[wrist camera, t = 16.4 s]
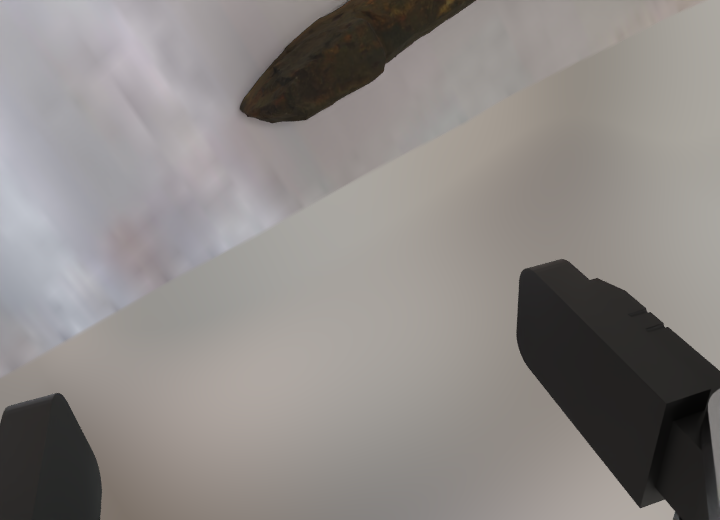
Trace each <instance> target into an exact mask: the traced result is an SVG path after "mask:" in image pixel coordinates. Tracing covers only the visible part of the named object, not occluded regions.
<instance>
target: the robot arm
mask: <svg viewBox="0 0 720 520" xmlns="http://www.w3.org/2000/svg"><path fill="white" fill-rule="evenodd" d="M518 297H519V298H518V317H517V342H518V347H519V350H520V353H521V355H522V357H523V360H524V362H525V363H526V365H527V366H528V368H529V369H530V370H531V371H532V373H533V374H534V375H535V376H536V378H537V379H538V380H539V381H540V383H541V384H542V385H543V386H544V388H545V389H546V390H547V392H548V393H549V394H550V395H551V397H552V398H553V399H554V400H555V402H556V403H557V404H558V405H559V407H560V408H561V409H562V411H563V412H564V413H565V414H566V416H567V417H568V418H569V419H570V421H571V422H572V423H573V424H574V426H575V427H576V428H577V429H578V431H579V432H580V433H581V434H582V436H583V437H584V438H585V439H586V441H587V442H588V443H589V445H590V446H591V447H592V448H593V450H594V451H595V452H596V453H597V455H598V456H599V457H600V458H601V460H602V461H603V462H604V463H605V465H606V466H607V467H608V468H609V470H610V471H611V472H612V473H613V475H614V476H615V477H616V478H617V480H618V481H619V482H620V484H621V485H622V486H623V487H624V488H625V490H626V491H627V492H628V494H629V495H630V496H631V497H632V499H633V500H634V501H635V502H636V504H637V505H638V506H639V507H640V508H642V507H645V506H648V505H651V504H653V503H656V502H659V501H662V500H664V499H665V500H666V501H667V502H668V503H669V504H670V506H671V507H672V508H673V509H674V510H675V514H674V517H673V520H720V371H719V370H718V369H717V368H716V367H715V366H713V365H712V364H711V363H710V362H708V361H707V360H706V359H705V358H704V357H703V356H701V355H700V354H699V353H698V352H697V351H695V350H694V349H693V348H692V347H691V346H689V344H687V343H686V342H685V341H684V340H683V339H682V338H680V337H679V336H678V335H677V334H676V333H674V332H673V331H672V330H671V329H670V328H668V327H666V328H665V327H664V324H663V322H661V321H660V320H659V319H658V318H657V317H656V316H654V315H653V314H652V313H651V312H649V313H648V312H647V311H646V308H645V307H644V306H643V305H641V304H640V303H639V302H638V301H637V300H635V299H634V298H633V297H632V296H631V295H630V294H628V293H627V292H626V291H625V290H622V289H620V288H618V287H615V286H614V285H611V284H609V283H607V282H605V281H602V280H600V279H598V278H596V279H592V280H589V279H588V278H587V277H586V276H585V275H583V274H582V273H581V272H580V271H579V270H578V269H577V268H575V267H574V266H573V265H572V264H571V263H570V262H568V261H567V260H564V259H560V260H556V261H553V262H549V263H545V264H542V265H538V266H534V267H530V268H527V269H524V270H523V271H522V272H521V275H520V280H519V296H518ZM101 497H102V487H101V477H100V472H99V467H98V464H97V461H96V458H95V455H94V453H93V451H92V449H91V447H90V445H89V443H88V441H87V439H86V438H85V436H84V434H83V432H82V430H81V428H80V426H79V424H78V422H77V420H76V418H75V416H74V414H73V412H72V410H71V408H70V406H69V404H68V402H67V401H66V399H65V398H64V397H63V395H62V394H60V393H55V394H52V395H48V396H45V397H41V398H37V399H33V400H29V401H26V402H22V403H18V404H14V405H11V406H8V407H7V408H6V409H5V411H4V413H3V415H2V419H1V423H0V520H100V512H101Z"/></svg>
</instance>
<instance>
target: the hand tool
mask: <svg viewBox="0 0 720 520" xmlns="http://www.w3.org/2000/svg"><path fill="white" fill-rule="evenodd" d="M474 1H476V0H350V1H349V2H347V3H346V4H345V5H343V6H342V7H340V8H339V9H337V10H336V11H334V12H332V13H330V14H328V15H327V16H325V17H322V18H320V19H318V20H317V21H316V22H314V23H313V24H312V25H311V26H309V27H308V28H307V29H306V30H305V31H303V32H302V33H301V34H300V35H299V36H298V37H297V38H296V39H295V40H294V41H293V42H291V43H290V44H289V45H288V46H287V47H286V48H285V50H284V51H283V53H282V54H281V55H280V56H279V57H278V58H277V59H276V60H275V61H274V62H273V63H272V64H271V66H270V67H269V68H268V69H267V70H266V71H265V73H264V74H263V75H262V76H261V77H260V78H259V80H258V81H257V82H256V84H255V85H254V87H253V88H252V89H251V90H250V92H249V93H248V94H247V95H246V96H245V98H244V100H243V101H242V103H241V106H240V110H241V111H242V112H243V113H245V114H246V115H247V117H254V118H257V119H259V120H262V121H266V122H270V123H276V122H282V121H301V120H307V119H308V118H310V117H312V116H313V115H315V114H317V113H318V112H320V111H322V110H323V109H325V108H327V107H329V106H331V105H333V104H334V103H335V102H336V101H338V100H339V99H341V98H343V97H345V96H346V95H348V94H350V93H352V92H354V91H356V90H358V89H360V88H362V87H363V86H365V85H367V84H369V83H370V82H372V81H373V80H375V79H376V78H377V77H378V76H379V75H380V74H381V73H383V72H384V66H385V64H386V63H388V62H389V61H390V60H392V59H393V58H394V57H396V56H397V55H398V54H399V53H400V52H402V51H403V50H404V49H406V48H407V47H408V46H410V45H411V44H412V43H413V42H414V41H416V40H417V39H419V38H420V37H422V36H424V35H426V34H428V33H430V32H431V31H432V30H433V29H435V28H436V27H437V26H439V25H440V24H442V23H443V22H445V21H446V20H448V19H450V18H451V17H453V16H454V15H456V14H457V13H459V12H460V11H461V10H463V9H464V8H466V7H467V6H468V5H470V4H471V3H473V2H474Z"/></svg>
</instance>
